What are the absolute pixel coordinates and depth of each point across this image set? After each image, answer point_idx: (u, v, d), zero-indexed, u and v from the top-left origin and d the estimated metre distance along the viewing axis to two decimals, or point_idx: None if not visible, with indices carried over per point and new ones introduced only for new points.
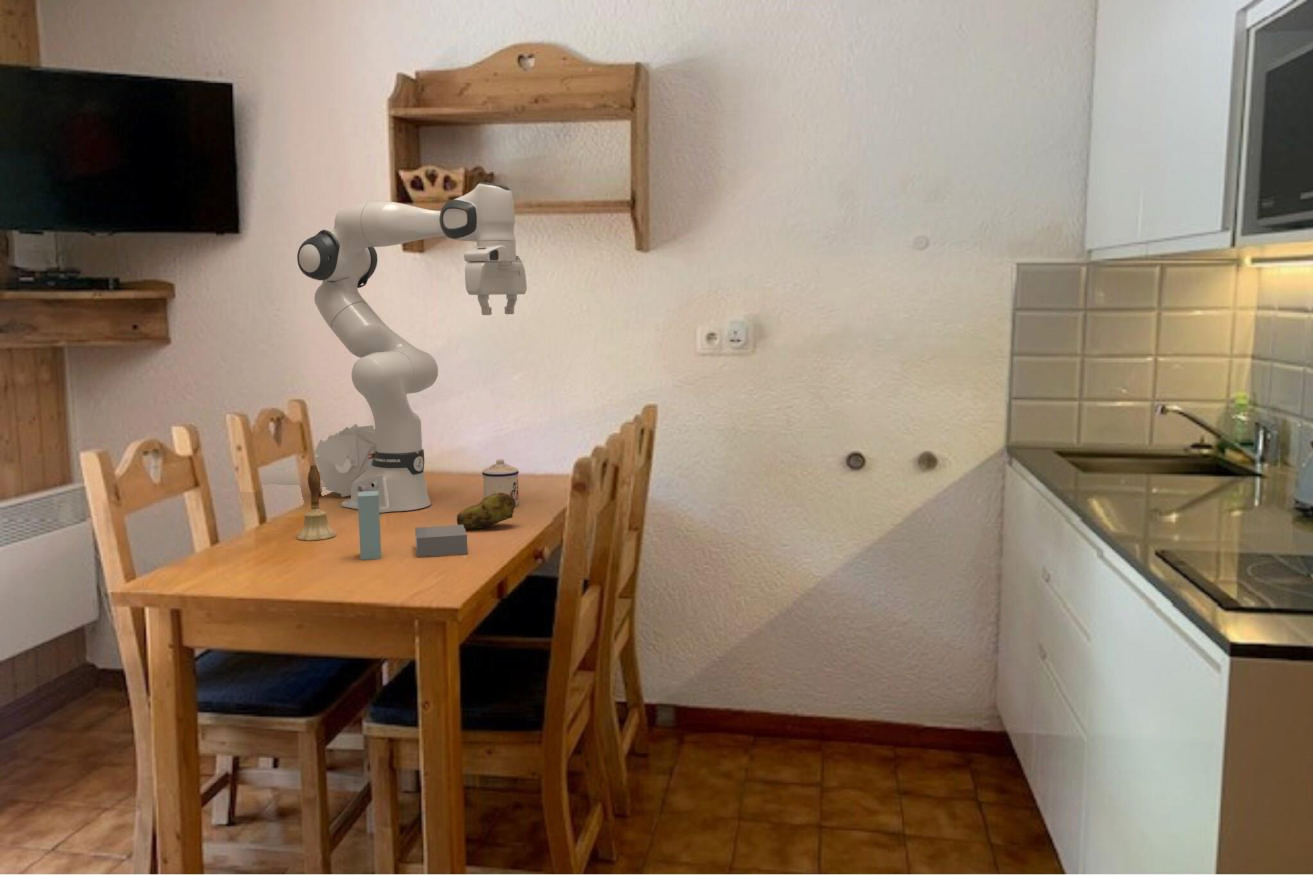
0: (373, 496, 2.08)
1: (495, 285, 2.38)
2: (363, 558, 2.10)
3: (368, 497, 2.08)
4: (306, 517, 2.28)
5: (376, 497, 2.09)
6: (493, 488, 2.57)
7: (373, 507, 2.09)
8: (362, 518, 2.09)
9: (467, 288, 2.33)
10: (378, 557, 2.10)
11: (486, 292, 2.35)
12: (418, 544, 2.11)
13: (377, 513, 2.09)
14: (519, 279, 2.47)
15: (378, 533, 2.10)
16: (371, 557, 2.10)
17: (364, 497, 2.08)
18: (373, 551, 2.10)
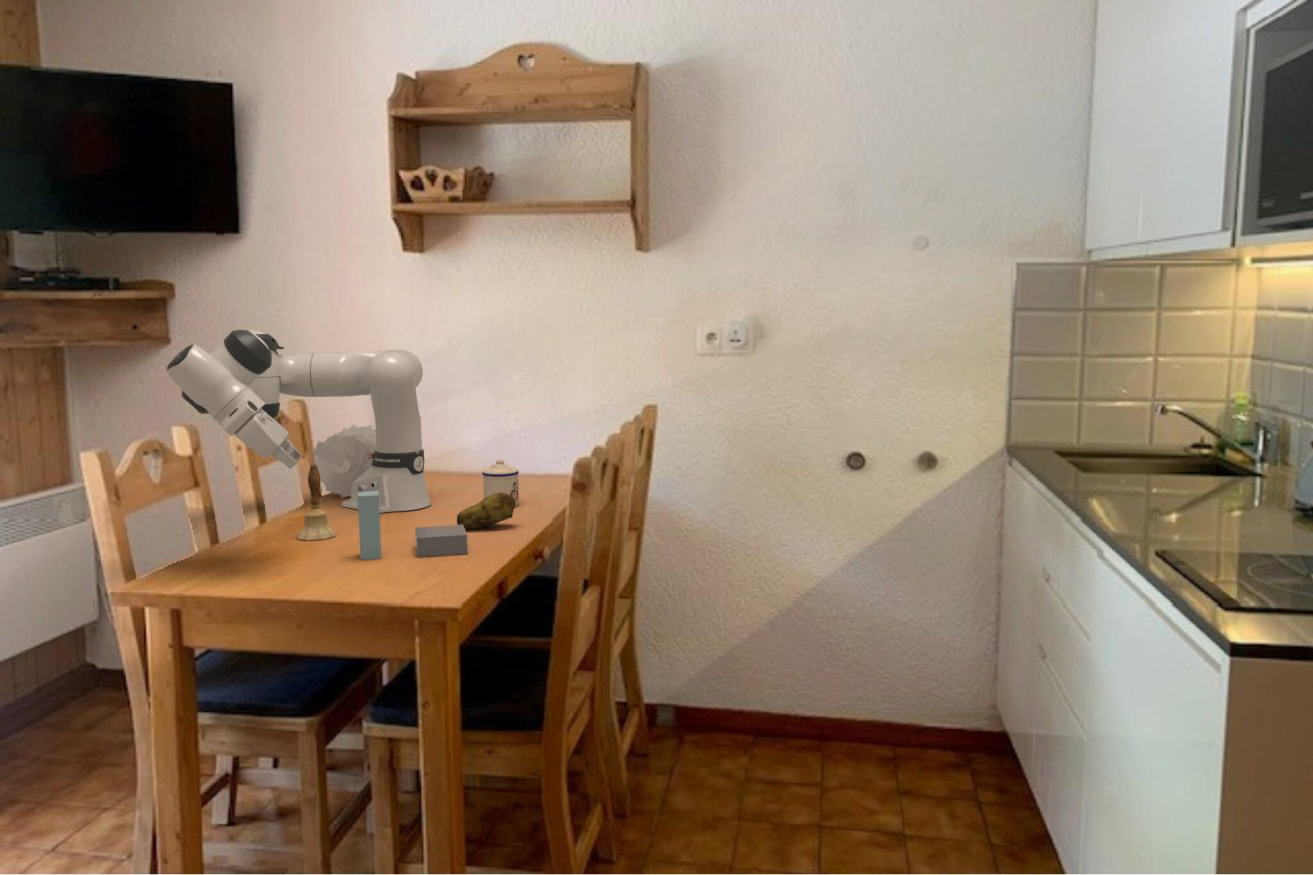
0: (373, 496, 2.08)
1: (275, 434, 2.02)
2: (363, 558, 2.10)
3: (368, 497, 2.08)
4: (306, 517, 2.28)
5: (376, 497, 2.09)
6: (493, 488, 2.57)
7: (373, 507, 2.09)
8: (362, 518, 2.09)
9: (261, 453, 1.95)
10: (378, 557, 2.10)
11: (279, 442, 1.99)
12: (418, 544, 2.11)
13: (377, 513, 2.09)
14: (275, 423, 2.11)
15: (378, 533, 2.10)
16: (371, 557, 2.10)
17: (364, 497, 2.08)
18: (373, 551, 2.10)
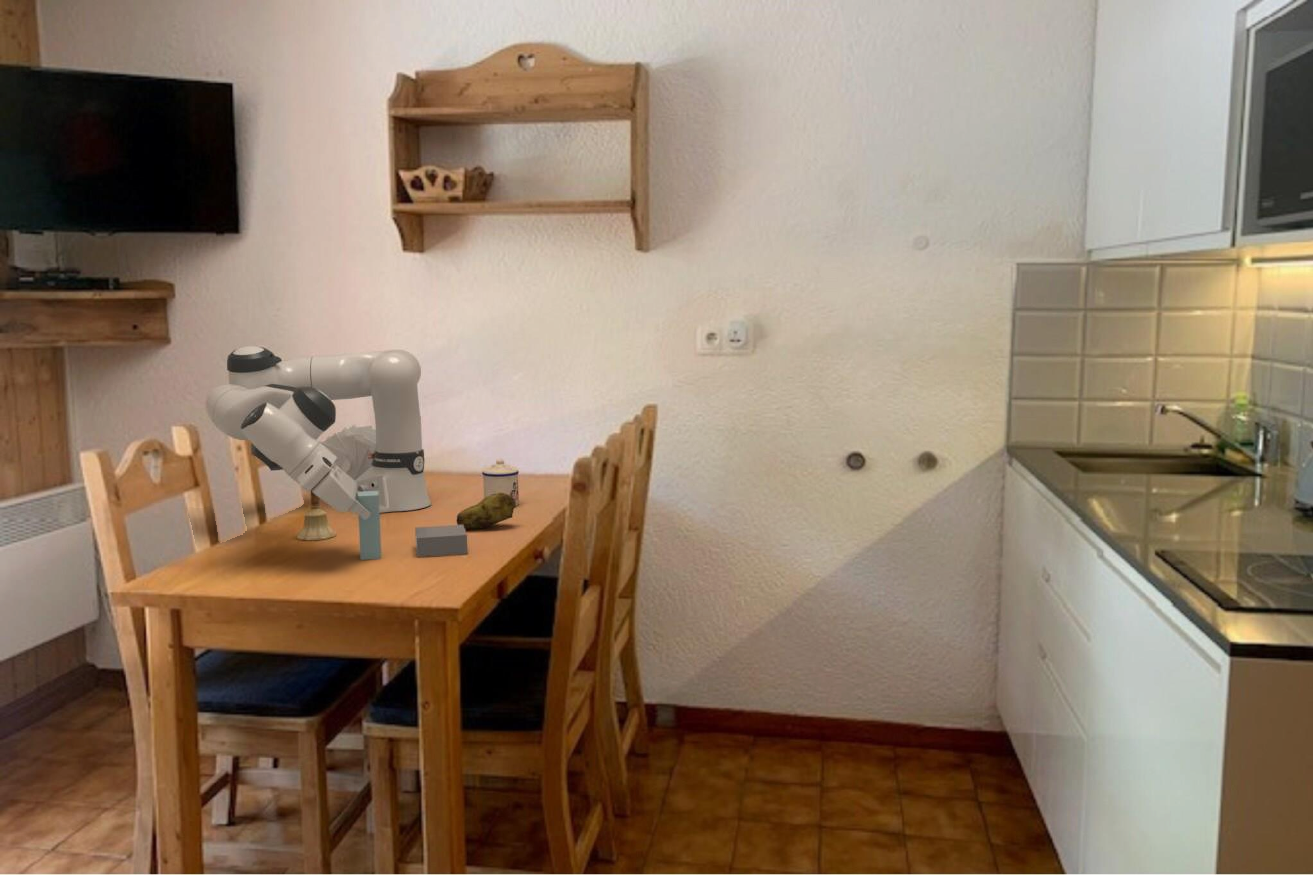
0: (373, 496, 2.08)
1: (348, 488, 2.06)
2: (363, 558, 2.10)
3: (368, 497, 2.08)
4: (306, 517, 2.28)
5: (376, 497, 2.09)
6: (493, 488, 2.57)
7: (373, 507, 2.09)
8: (362, 518, 2.09)
9: (339, 508, 2.00)
10: (378, 557, 2.10)
11: (354, 496, 2.03)
12: (418, 544, 2.11)
13: (377, 513, 2.09)
14: (344, 475, 2.15)
15: (378, 533, 2.10)
16: (371, 557, 2.10)
17: (364, 497, 2.08)
18: (373, 551, 2.10)
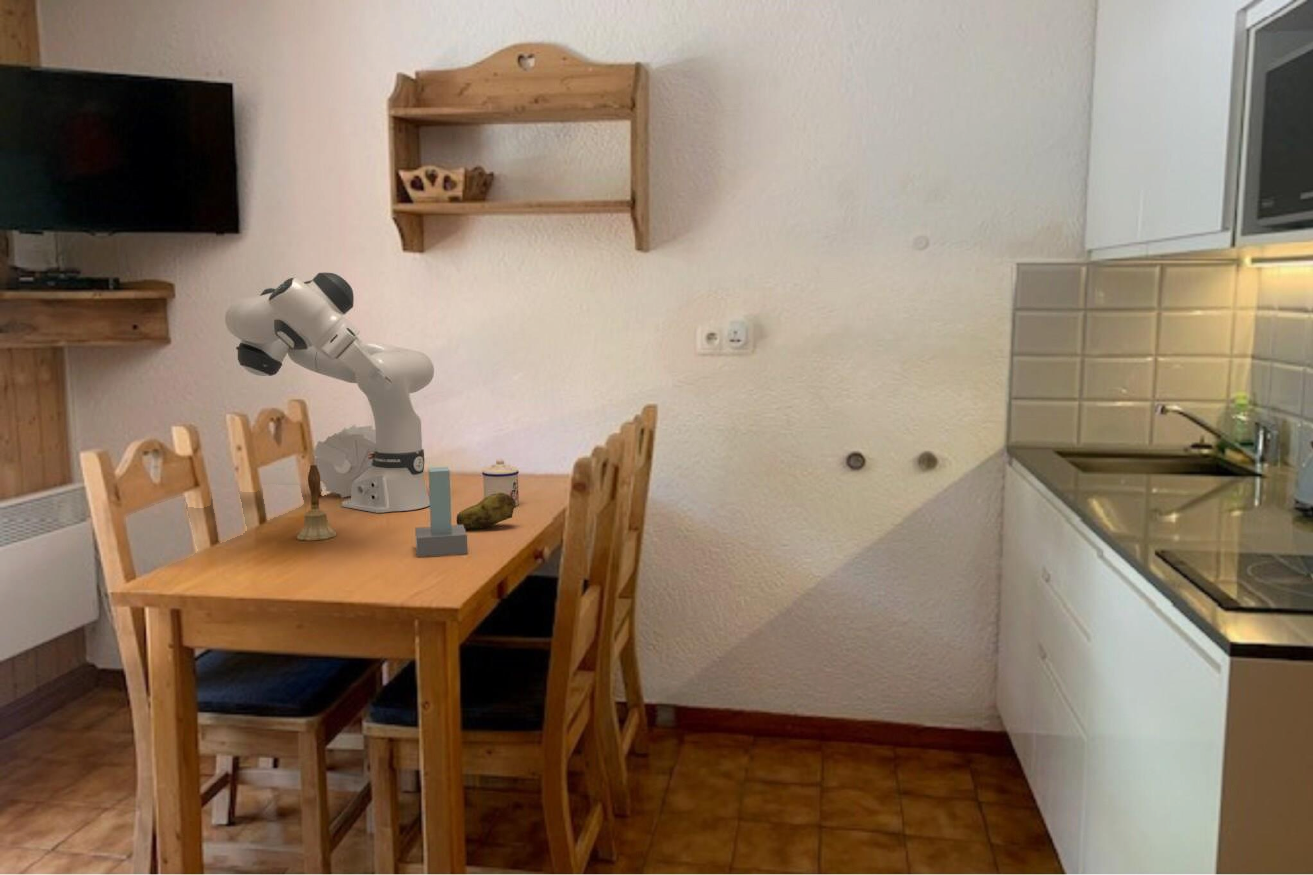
0: (444, 471, 2.13)
1: (371, 359, 2.17)
2: (434, 532, 2.14)
3: (440, 472, 2.13)
4: (306, 517, 2.28)
5: (447, 472, 2.13)
6: (493, 488, 2.57)
7: (444, 482, 2.13)
8: (434, 493, 2.13)
9: (362, 375, 2.10)
10: (449, 531, 2.15)
11: (376, 366, 2.14)
12: (418, 544, 2.11)
13: (448, 488, 2.13)
14: (366, 352, 2.26)
15: (449, 508, 2.14)
16: (442, 531, 2.14)
17: (436, 472, 2.12)
18: (443, 526, 2.14)
